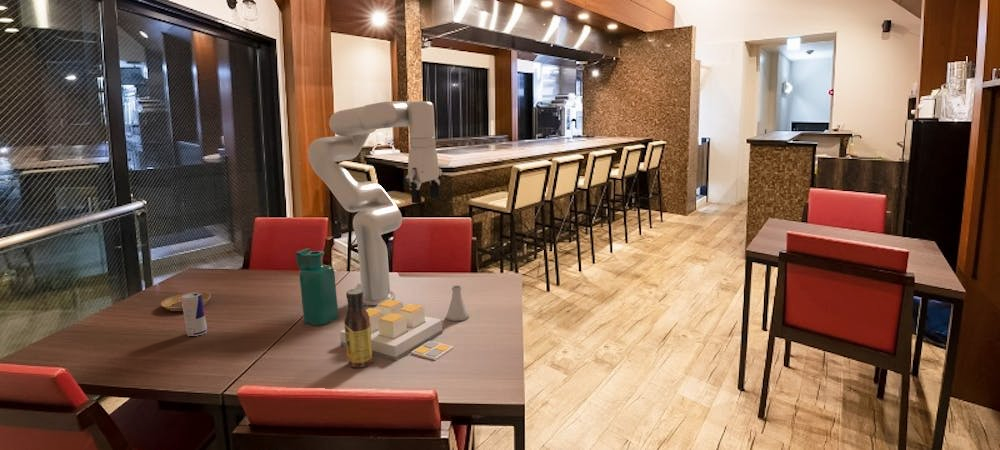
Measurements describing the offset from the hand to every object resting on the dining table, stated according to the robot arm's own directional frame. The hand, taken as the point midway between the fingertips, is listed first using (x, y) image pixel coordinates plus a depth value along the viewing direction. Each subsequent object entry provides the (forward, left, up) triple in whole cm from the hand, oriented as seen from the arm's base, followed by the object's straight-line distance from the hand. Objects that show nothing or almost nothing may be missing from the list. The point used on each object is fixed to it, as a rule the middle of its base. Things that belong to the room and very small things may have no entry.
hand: (426, 200), depth 168 cm
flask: (+10, +1, -37) cm, 38 cm away
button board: (+3, -21, -36) cm, 42 cm away
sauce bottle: (+6, -37, -37) cm, 52 cm away
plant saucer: (-77, -34, -37) cm, 92 cm away
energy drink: (-51, -46, -37) cm, 78 cm away
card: (+18, -22, -36) cm, 46 cm away
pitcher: (-27, -21, -37) cm, 50 cm away
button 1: (-1, -25, -33) cm, 41 cm away
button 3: (+7, -25, -33) cm, 42 cm away
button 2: (-1, -17, -33) cm, 37 cm away
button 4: (+7, -17, -33) cm, 38 cm away
